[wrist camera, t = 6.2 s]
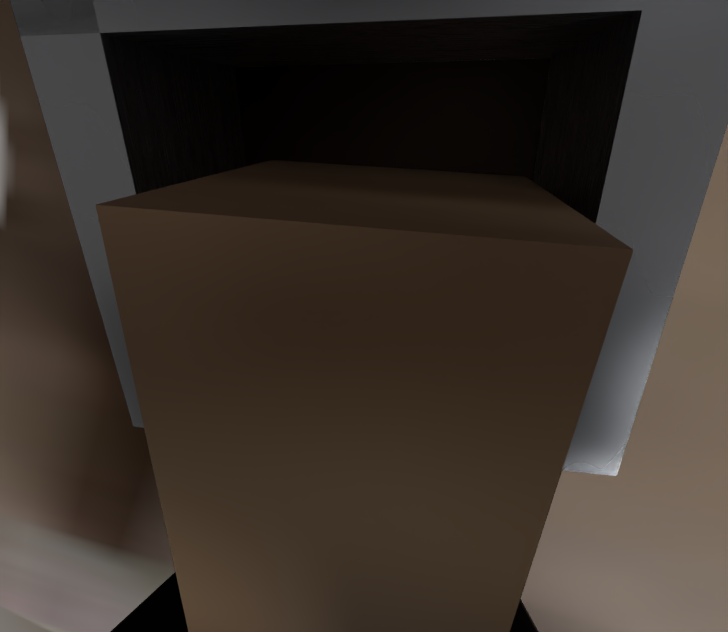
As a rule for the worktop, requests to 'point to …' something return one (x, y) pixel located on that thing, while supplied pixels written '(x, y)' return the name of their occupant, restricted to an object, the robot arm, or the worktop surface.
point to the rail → (357, 386)
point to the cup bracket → (405, 45)
